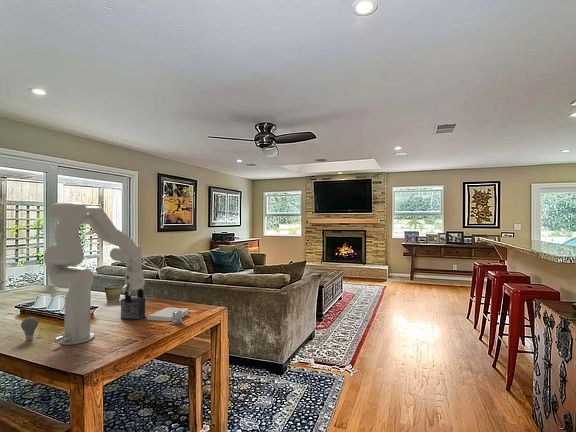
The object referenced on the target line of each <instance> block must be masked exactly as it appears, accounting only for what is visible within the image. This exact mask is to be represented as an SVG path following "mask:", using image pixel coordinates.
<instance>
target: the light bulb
mask: <svg viewBox="0 0 576 432" xmlns="http://www.w3.org/2000/svg"><path fill="white" fill-rule="evenodd" d="M38 326H39V319H37V318H36V317H35V316H28V317H26V318H24V319H23V320H22V321H21V323H20V327H21V330H22V331H23V332H24V335H25V341H32V340H34V334H35V332H36V329H37V327H38Z"/></svg>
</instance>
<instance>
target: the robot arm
mask: <svg viewBox="0 0 576 432" xmlns="http://www.w3.org/2000/svg"><path fill="white" fill-rule="evenodd" d="M47 216H48V217H49V219H50V220H51V221H54V222H55V223H57V224H56V226H55V229H54V241H55V243H53V244H50V245H49V246H48V247H46V249H45V251H44V254H43V261H44V264H45V269H46V271H47V275H48V278H49V281H50V283H51V284H52V285H53V286H54V287H56V288H59V289H68V291H67V293H66V295H65V298H64V331H63V332H61V333H62V334H61V335H60V336H57V337H55V338H54V339H53V342H54V343H55V344H57V343H60V344H61V345H66V346H70V345H72V346H73V345H80V344H83V343H86V342H89V341H91V340H93V339H94V338H95V333H93V332H91V295H92V287H93V284H94V274H93V271H92V270H90V269H89V268H88V267H82V266H78V265H81V264H82V263H83V261H84V259H85V257H84V256H85V254H84V250H83V245H82V242H81V239H80V234H79V232H80V226H81V225H89V226H90V228H91V229H92V230H93V231H94V233H95V234H96V235H97V237H98V238H99V240H101V241H103V242H105V243H108V244H111V245H113V246H115V247H113V248H112V249H111V250H110V252H109V257H110V258H111V260H112V261H115V262H125V270H126V271H125V276H124V277H125V278H124V285H123V286H122V290H121V292H122V294H123V295H124V299H125V303H131V298H132V295H131V294H132V292H136V291H137V298H144V291H145V287H146V283H147V281H145V278H144V270H143V269H142V267H143V265H142V259H143V258H142V246H141V245H139V244H136V243H135V241H134V240H133V239H132V238H131V237H130V236H128V235H127V234H125V233H124V232H123V231H120V229H117V227H116V226H115V224H113V222H112V220H111V219H110V217H109V215H108V214H107V213H106V212H105V210H104V209H103V208H102V207H100V206H97V205H86V204H84V203H82V202H77V201H68V202H64V201H63V202H55V203H52V204H51V205H49V207H48V209H47Z"/></svg>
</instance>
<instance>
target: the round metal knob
mask: <svg viewBox="0 0 576 432" xmlns="http://www.w3.org/2000/svg"><path fill="white" fill-rule="evenodd" d="M181 323H182V324H183V318H182V311H173V321H172V325H173V326H179V325H178V324H180V325H182V324H181Z"/></svg>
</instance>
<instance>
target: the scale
mask: <svg viewBox="0 0 576 432" xmlns="http://www.w3.org/2000/svg"><path fill="white" fill-rule="evenodd" d="M173 311H182V317H183V318H185V317H187V316H188V315H189V313H190V309H188V308H184V307H183V308H182V307H170V306H169V307H165V308H162V309H160V310H157V311H156V312H154V313H152V314H149V315H148V316H146V320H147V321H158V322H160V321H161V322H169V321H171V322H173ZM187 314H188V315H187ZM186 315H187V316H186ZM184 316H185V317H184Z"/></svg>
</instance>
